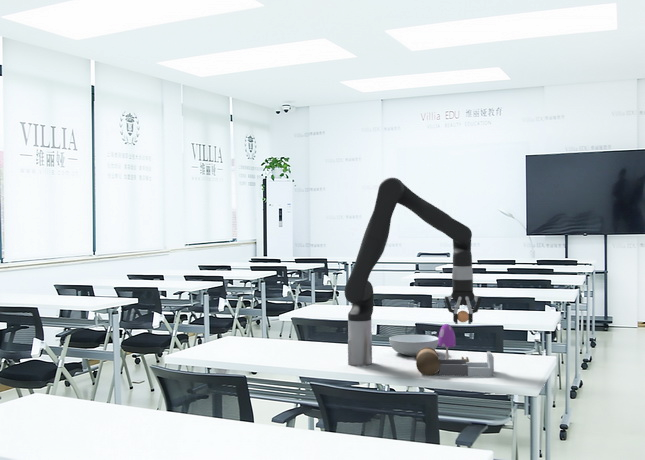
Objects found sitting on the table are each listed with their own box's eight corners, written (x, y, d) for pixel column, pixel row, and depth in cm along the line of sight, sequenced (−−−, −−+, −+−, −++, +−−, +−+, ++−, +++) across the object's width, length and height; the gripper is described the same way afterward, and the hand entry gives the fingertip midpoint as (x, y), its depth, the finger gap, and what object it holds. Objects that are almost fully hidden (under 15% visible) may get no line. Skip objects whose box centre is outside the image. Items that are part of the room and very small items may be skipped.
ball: (457, 323, 237) (457, 311, 237) (456, 321, 242) (456, 309, 242) (469, 323, 237) (469, 311, 237) (468, 321, 241) (468, 309, 241)
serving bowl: (446, 352, 273) (446, 336, 273) (427, 360, 255) (426, 343, 255) (402, 348, 284) (402, 332, 284) (380, 356, 266) (380, 339, 266)
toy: (455, 363, 248) (455, 325, 248) (438, 363, 249) (437, 325, 249) (455, 360, 255) (455, 322, 255) (438, 360, 256) (438, 322, 256)
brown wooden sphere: (440, 375, 228) (439, 352, 228) (416, 375, 229) (415, 352, 229) (438, 369, 238) (438, 347, 238) (416, 369, 239) (415, 347, 239)
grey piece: (439, 375, 228) (439, 356, 228) (438, 369, 238) (438, 351, 238) (493, 376, 226) (493, 356, 226) (490, 370, 235) (490, 351, 235)
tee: (461, 369, 238) (461, 358, 238) (460, 367, 241) (460, 356, 241) (469, 369, 237) (469, 358, 238) (468, 367, 240) (468, 356, 240)
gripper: (444, 279, 236) (444, 325, 236) (483, 278, 235) (484, 325, 235) (442, 277, 244) (442, 322, 244) (480, 277, 242) (480, 322, 242)
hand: (463, 323), depth 239 cm, fingers closed on ball, 4 cm apart
